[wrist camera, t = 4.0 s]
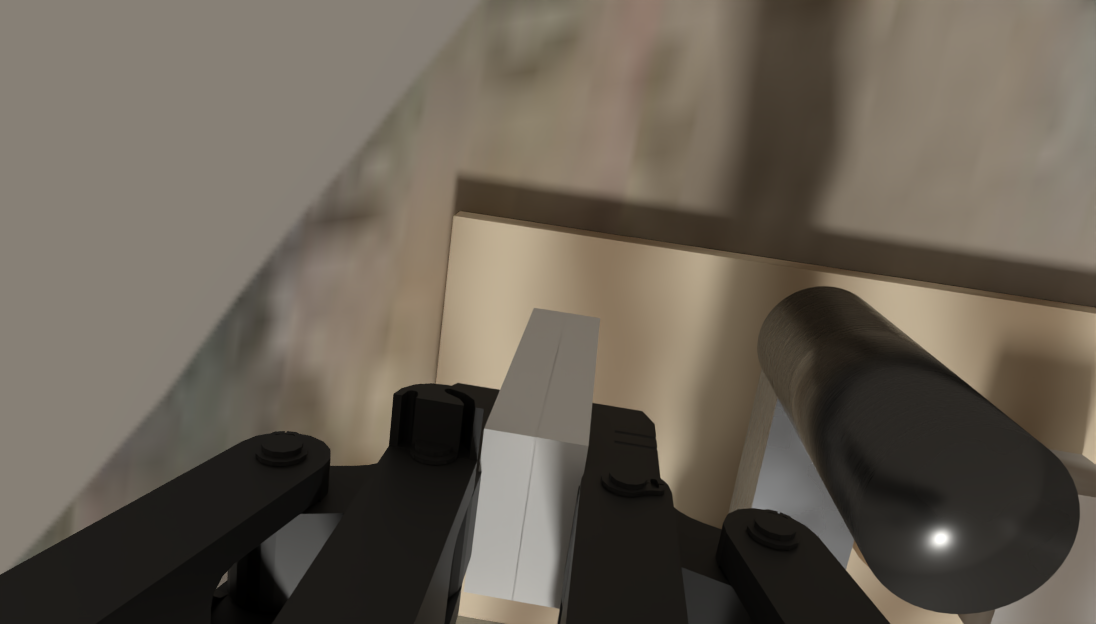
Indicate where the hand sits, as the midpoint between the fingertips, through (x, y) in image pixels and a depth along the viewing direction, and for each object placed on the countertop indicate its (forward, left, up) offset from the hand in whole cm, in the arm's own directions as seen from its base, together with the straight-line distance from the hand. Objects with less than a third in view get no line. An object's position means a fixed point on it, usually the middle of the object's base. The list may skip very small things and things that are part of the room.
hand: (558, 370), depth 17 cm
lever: (+8, -6, -9) cm, 13 cm away
